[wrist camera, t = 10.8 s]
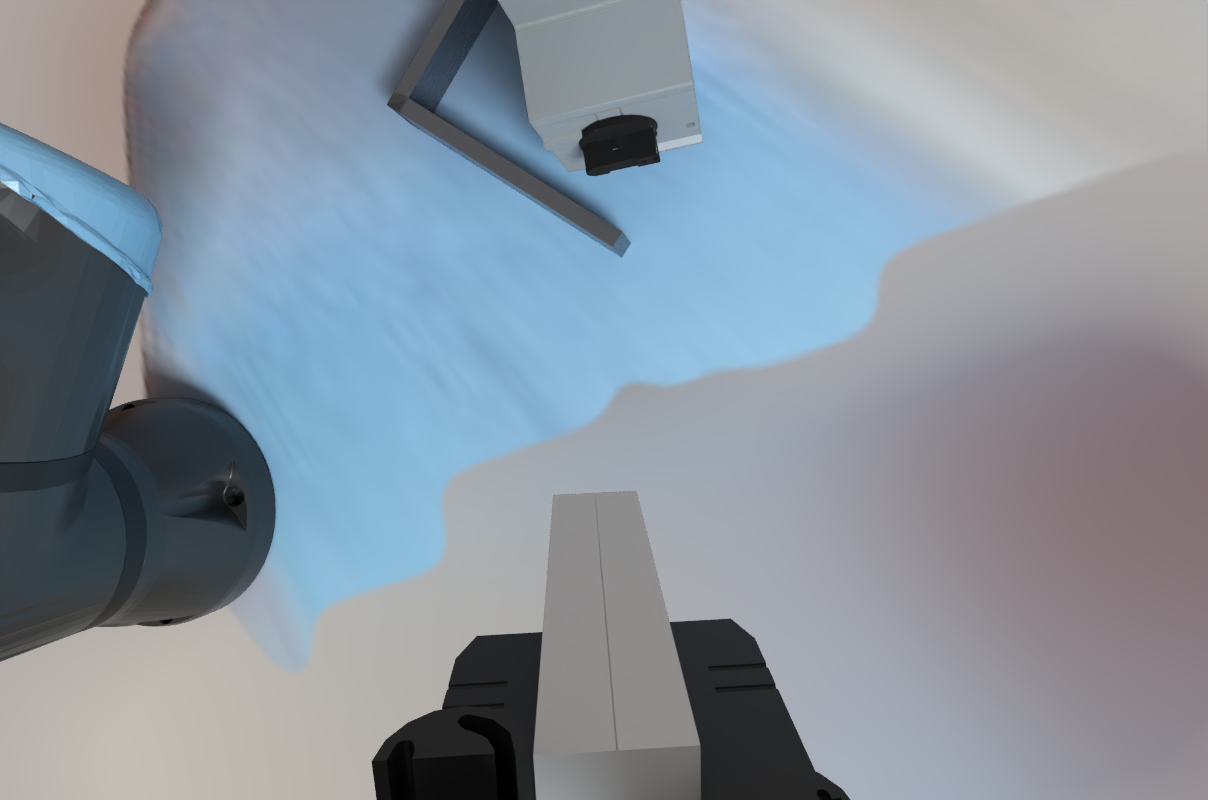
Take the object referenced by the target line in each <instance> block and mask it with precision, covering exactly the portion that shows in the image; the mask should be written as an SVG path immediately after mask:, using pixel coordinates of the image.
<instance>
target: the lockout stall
mask: <svg viewBox="0 0 1208 800" xmlns="http://www.w3.org/2000/svg"><path fill="white" fill-rule="evenodd" d="M497 2H498V0H447V1H446V3H445V5H444V6H443V8H442V10H441V11H440V13H439V15H438V17H437V18H436V20H435V22H434V24H433V25H432V27H431V29H430V31H429V32H428V34H427V36H426V38H425V39H424V41H423V43H422V45H421V46H420V48H419V50H418V52H417V53H416V55H415V57H414V59H413V60H412V62H411V64H410V66H409V67H408V69H407V71H406V72H405V74H404V76H403V78H402V79H401V81H400V83H399V85H398V86H397V88H396V90H395V92H394V93H393V95H392V97H391V99H390V100H389V102H388V104H387V105H388V106H389V107H390V108H392V109H393V110H394V111H395V112H397V113H398V114H399V115H400V116H401V117H403V118H404V119H405V120H406V121H408V122H409V123H410V124H412V125H413V126H415V127H416V128H418V129H420V130H421V131H423V132H424V133H426V134H427V135H429V136H431V137H432V138H434V139H435V140H437V141H439V142H440V143H442V144H443V145H445V146H446V147H448V148H450V149H451V150H453V151H454V152H456V153H458V154H459V155H461V156H462V157H464V158H465V159H467V160H469V161H470V162H472V163H473V164H475V165H476V166H478V167H480V168H481V169H483V170H484V171H486V172H488V173H489V174H491V175H492V176H494V177H495V178H497V179H499V180H500V181H502V182H503V183H505V184H507V185H508V186H510V187H511V188H513V189H514V190H516V191H518V192H519V193H521V194H522V195H524V196H525V197H527V198H529V199H530V200H532V201H533V202H535V203H537V204H538V205H540V206H541V207H543V208H544V209H546V210H548V211H549V212H551V213H552V214H554V215H555V216H557V217H559V218H560V219H562V220H563V221H565V222H567V223H568V224H570V225H571V226H573V227H574V228H576V229H578V230H579V231H581V232H582V233H584V234H586V235H587V236H589V237H590V238H592V239H593V240H595V241H597V242H598V243H600V244H601V245H603V246H604V247H606V248H608V249H609V250H611V251H612V252H614V253H616V254H617V255H619V256H620V257H622V256H623V255H624V253H625V251H626V250H627V248H628V247H629V245H630V244H631V243H630V242H629V240H628V239H627V238H626V236H625V235H624V234H623V232H622V231H620V230H618V229H617V228H615V227H614V226H612V225H610V224H609V223H607V222H606V221H604V220H602V219H601V218H599V217H598V216H596V215H594V214H593V213H591V212H590V211H588V210H586V209H585V208H583V207H582V206H580V205H578V204H577V203H575V202H574V201H572V200H570V199H569V198H567V197H566V196H564V195H562V194H561V193H559V192H558V191H556V190H554V189H553V188H551V187H550V186H548V185H546V184H545V183H543V182H542V181H540V180H538V179H537V178H535V177H534V176H532V175H530V174H529V173H527V172H526V171H524V170H522V169H521V168H519V167H518V166H516V165H514V164H513V163H511V162H510V161H508V160H506V159H505V158H503V157H502V156H500V155H499V154H497V153H495V152H494V151H492V150H491V149H489V148H487V147H486V146H484V145H483V144H481V143H479V142H478V141H476V140H475V139H473V138H471V137H470V136H468V135H467V134H465V133H463V132H462V131H460V130H459V129H457V128H455V127H454V126H452V125H451V124H449V123H447V122H446V121H444V120H443V119H441V118H439V117H438V116H436V115H435V114H433V112H434V110H435V109H436V107H437V105H438V104H439V102H440V100H441V98H442V97H443V95H444V93H445V92H446V90H447V88H448V86H449V85H450V83H451V81H452V80H453V78H454V76H455V74H456V73H457V71H458V69H459V68H460V66H461V64H462V62H463V61H464V59H465V57H466V56H467V54H468V52H469V50H470V49H471V47H472V45H473V44H474V42H475V40H476V38H477V37H478V35H479V33H480V32H481V30H482V28H483V26H484V25H485V23H486V21H487V20H488V18H489V16H490V14H491V13H492V11H493V9H494V8H495V6H496V4H497Z"/></svg>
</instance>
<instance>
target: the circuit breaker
mask: <svg viewBox="0 0 1208 800" xmlns="http://www.w3.org/2000/svg"><path fill="white" fill-rule="evenodd" d="M498 1H499V3H500V5H501V6H502V8H503V9H504V11H505V13H506V14H507V16H508V17H509V19H510V21H511V22H512V24H513V25H514V28H515V33H516V39H517V46H518V53H519V59H520V66H521V72H522V79H523V85H524V92H525V99H526V105H527V112H528V118H529V123H530V124H531V125H532V127H533V128H534V129H535V131H536V132H537V133H538V134H539V136H540V137H541V138H542V140H543V146H544V147H545V149H546V150H547V151H550V150H551V151H552V152H553V153H554V155H555V156H556V157H557V158H558V160H559V161H560V162H561V163H562V165H563V166H564V167H565V168H566V170H567V171H568V172H573V171H577V170H582V169H586V173H587V175H589V176H598V175H603V174H608V173H610V171H614V170H618V169H623V168H627V167H632V166H636V165H638V166H639V167H640V166H644V165H649V164H653V163H658V162H660V157H659V152H663V151H667V150H672V149H676V148H681V147H685V146H690V145H694V144H699V143H703V141H702V134H701V128H700V121H699V115H698V109H697V102H696V96H695V88H694V81H693V75H692V68H691V62H690V55H689V49H688V42H687V36H686V29H685V23H684V16H683V10H682V4H681V0H498Z"/></svg>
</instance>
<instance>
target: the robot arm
mask: <svg viewBox="0 0 1208 800" xmlns="http://www.w3.org/2000/svg"><path fill="white" fill-rule="evenodd" d="M161 237H162V223H161V220H160V217H159V215H158V213H157V211H156V209H155V207H154V206H153V205H152V204H151V203H150V201H149V200H148V199H147V198H146V197H144V196H143V195H142V194H141V193H139V192H138V191H136V190H135V189H133V188H131V187H130V186H128V185H126V184H124V183H122V182H121V181H119V180H117V179H115V178H113V177H111V176H109V175H107V174H106V173H103V172H101V171H100V170H98V169H96V168H94V167H92V166H90V165H88V164H86V163H84V162H82V161H80V160H78V159H76V158H74V157H72V156H70V155H68V154H66V153H64V152H62V151H60V150H57V149H55V148H53V147H51V146H49V145H47V144H45V143H43V142H40V141H39V140H37V139H34V138H32V137H30V136H28V135H26V134H24V133H22V132H19V131H17V130H15V129H13V128H11V127H9V126H6V125H4V124H2V123H0V662H1V661H3V660H6V659H8V658H12V657H14V656H17V655H20V654H22V653H25V652H27V651H30V650H33V649H36V648H38V647H41V646H43V645H46V644H49V643H51V642H54V641H56V640H59V639H62V638H65V637H68V636H70V635H73V634H75V633H78V632H81V631H84V630H87V629H90V628H92V627H117V626H131V625H142V626H170V625H176V624H181V623H185V622H188V621H191V620H194V619H197V618H199V617H202V616H204V615H207V614H209V613H211V612H214V611H216V610H218V609H221V608H223V607H224V606H226V605H228V604H229V603H231V602H232V601H234V600H235V599H236V598H238V597H239V596H240V595H241V594H242V593H243V592H244V591H245V590H246V589H247V588H248V587H249V586H250V584H251V583H252V582H253V581H254V579H255V578H256V576H257V575H258V573H259V572H260V570H261V568H262V566H263V564H264V562H265V560H266V557H267V555H268V552H269V549H270V546H271V542H272V538H273V533H274V526H275V498H274V490H273V485H272V481H271V477H270V474H269V471H268V468H267V465H266V463H265V460H264V458H263V456H262V454H261V452H260V450H259V449H258V447H257V445H256V444H255V442H254V441H253V439H252V438H251V437H250V435H249V434H248V433H247V432H246V431H245V430H244V428H243V427H242V426H241V425H240V424H239V423H238V422H236V421H235V420H234V419H233V418H232V417H230V416H229V415H227V414H226V413H225V412H223V411H221V410H220V409H218V408H216V407H214V406H212V405H209V404H207V403H204V402H201V401H197V400H192V399H185V398H151V399H143V400H136V401H132V402H128V403H125V404H122V405H120V406H118V407H115V408H113V409H111V410H109V408H110V405H111V402H112V399H113V396H114V392H115V389H116V386H117V382H118V379H119V377H120V373H121V370H122V367H123V364H124V361H125V358H126V354H127V351H128V348H129V345H130V342H131V339H132V336H133V332H134V329H135V326H136V323H137V320H138V317H139V314H140V310H141V307H142V304H143V301H144V298H145V297H150V296H151V294H152V291H153V287H152V283H151V281H150V280H151V276H152V272H153V268H154V264H155V261H156V257H157V253H158V249H159V245H160V241H161ZM372 767H373V775H374V782H375V790H376V797H377V800H850V799H849V798H848V796H847V795H846V794H845V792H844V791H843V790H842V789H841V788H840V787H838V786H837V785H836V784H834V783H833V782H831V781H830V780H828V779H827V778H825V777H824V776H823V775H821V774H820V773H818V772H815V770H814V768H813V765H812V763H811V761H810V759H809V757H808V754H807V752H806V750H805V748H804V746H803V744H802V741H801V739H800V737H799V735H798V732H797V730H796V728H795V726H794V724H793V721H792V719H791V717H790V715H789V713H788V710H787V708H786V706H785V704H784V702H783V699H782V697H781V695H780V693H779V691H778V689H776V687H775V682H774V680H773V677H772V675H771V673H770V671H769V669H768V668H766V662H765V660H764V658H763V656H762V654H761V651H760V649H759V647H758V645H757V642H756V640H755V638H754V637H752V636H751V635H750V634H749V633H747V632H746V631H745V630H744V629H742V628H741V627H740V626H739V625H738V624H736V623H735V622H734V621H733V620H731V619H718V620H700V621H683V622H669V618H668V615H667V610H666V607H665V603H664V599H663V595H662V591H661V587H660V583H659V579H658V575H657V571H656V567H655V563H654V559H653V555H652V551H651V547H650V543H649V539H648V535H647V531H646V527H645V524H644V519H643V515H642V511H641V507H640V503H639V500H638V495H637V492H636V491H623V492H603V493H584V494H564V495H553V504H552V517H551V530H550V544H549V558H548V569H547V582H546V596H545V608H544V621H543V632H538V633H522V634H504V635H487V636H477V637H476V638H475V639H474V640H473V641H472V642H471V643H470V644H469V645H468V646H467V647H466V648H465V649H464V651H462V653H461V654H460V655H459V656H458V657H457V658H456V660H455V664H454V667H453V670H452V674H451V678H450V681H449V689H448V690H447V692H446V695H445V699H444V703H443V706H442V710H437V711H433V712H431V713H429V714H427V715H424V716H422V717H420V718H417V719H415V720H413V721H411V722H408V723H407V724H406V725H404V726H403V727H402V728H400V729H399V730H398V731H397V732H396V733H394V734H393V735H392V736H390V737H389V738H388V739H386V740H385V742H384V743H383V745H382V746H381V748H380V749H379V751H378V753H377V754H376V756H375V757H374V759H373V760H372Z"/></svg>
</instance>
